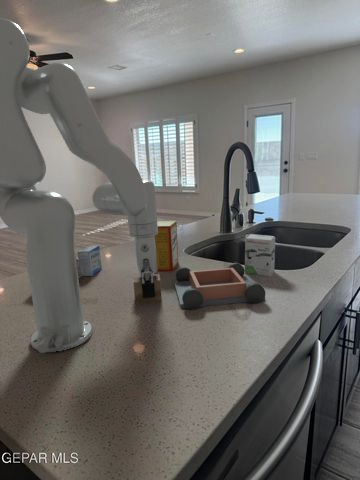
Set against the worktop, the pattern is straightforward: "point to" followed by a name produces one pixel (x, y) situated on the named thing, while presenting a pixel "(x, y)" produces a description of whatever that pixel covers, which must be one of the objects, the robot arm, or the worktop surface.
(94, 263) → the medicine box
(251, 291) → the chassis
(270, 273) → the ink box
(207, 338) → the worktop surface
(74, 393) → the worktop surface
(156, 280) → the tan block
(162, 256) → the baking soda box
